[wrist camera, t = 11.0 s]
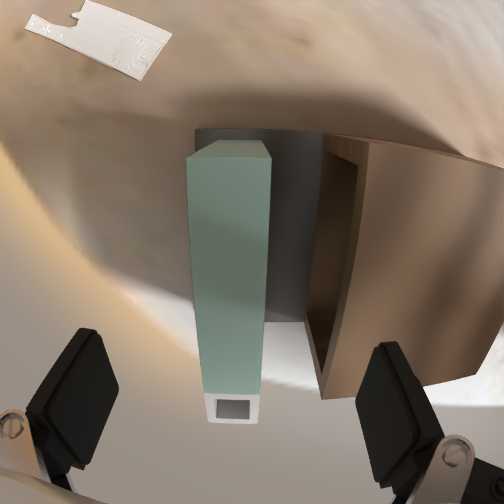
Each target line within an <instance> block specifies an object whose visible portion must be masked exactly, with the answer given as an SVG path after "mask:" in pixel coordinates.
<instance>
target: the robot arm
mask: <svg viewBox="0 0 504 504" xmlns="http://www.w3.org/2000/svg"><path fill="white" fill-rule="evenodd" d="M118 391H119V386H118V383H117V380H116V378H115V375H114V373H113V370H112V367H111V364H110V362H109V358H108V356H107V352H106V350H105V347H104V343H103V340H102V337H101V336H100V335H99V334H98V333H97V331H96V330H93V329H87V328H79V329H78V331H77V332H76V333H75V335H74V336H73V338H72V339H71V340H70V342H69V343H68V345H67V346H66V348H65V349H64V351H63V352H62V353H61V355H60V356H59V358H58V359H57V361H56V362H55V364H54V365H53V367H52V368H51V370H50V371H49V373H48V374H47V376H46V377H45V379H44V380H43V382H42V383H41V385H40V387H39V388H38V390H37V391H36V393H35V395H34V396H33V398H32V399H31V401H30V403H29V405H28V406H27V407H26V410H27V411H26V412H25V414H24V413H23V412H22V411H20V410H16V409H11V410H7V411H5V412H3V413H2V414H1V415H0V504H106V503H103V502H100V501H97V500H94V499H91V498H88V497H85V496H82V495H79V494H78V493H77V490H76V488H75V486H74V483H73V481H72V479H71V476H70V473H69V470H70V468H71V466H73V467H75V468H78V469H81V470H84V468H85V465H88V464H89V463H90V462H91V459H92V457H93V454H94V451H95V449H96V446H97V444H98V441H99V439H100V436H101V434H102V431H103V429H104V426H105V424H106V421H107V419H108V416H109V414H110V412H111V409H112V407H113V404H114V402H115V400H116V397H117V395H118ZM355 402H356V403H355V404H356V409H357V412H358V416H359V419H360V424H361V427H362V431H363V435H364V439H365V443H366V447H367V451H368V455H369V459H370V464H371V468H372V472H373V476H374V480H375V482H379V484H380V488H381V489H382V488H387V487H391V486H392V489H393V493H394V495H393V497H392V499H391V500H390V502H389V504H504V469H501V468H499V467H497V466H494V465H492V464H489V463H487V462H485V461H482V460H480V459H478V458H475V450H474V447H473V445H472V443H471V442H470V441H469V440H468V439H466V438H465V437H463V436H460V435H449V436H447V437H445V435H444V433H443V431H442V428H441V426H440V424H439V421H438V419H437V417H436V415H435V412H434V410H433V408H432V406H431V404H430V402H429V400H428V397H427V395H426V393H425V391H424V389H423V387H422V385H421V383H420V381H419V379H418V378H417V377H416V376H415V375H414V373H413V371H412V369H411V367H410V365H409V363H408V361H407V359H406V357H405V355H404V353H403V351H402V349H401V347H400V346H399V344H398V342H396V341H390V342H380V343H379V345H378V347H375V348H374V349H373V352H372V355H371V358H370V361H369V364H368V367H367V369H366V372H365V375H364V377H363V380H362V383H361V385H360V388H359V391H358V393H357V396H356V400H355Z"/></svg>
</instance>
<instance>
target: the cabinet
mask: <svg viewBox="0 0 504 504" xmlns="http://www.w3.org/2000/svg"><path fill="white" fill-rule="evenodd" d="M217 140H262V142H263V144H264V146H265V147H266V149H267V151H268V153H269V155H270V156H271V158H272V161H271V188H270V212H269V234H268V256H267V276H266V295H265V314H264V322H304V323H305V328H306V332H307V336H308V341H309V345H310V349H311V354H312V358H313V363H314V367H315V372H316V376H317V381H318V385H319V390H320V395H321V399H322V400H323V399H337V398H348V397H356V396H357V393H358V391H359V388H360V385H361V383H362V380H363V377H364V375H365V372H366V369H367V367H368V364H369V361H370V358H371V355H372V352H373V349H374V348H375V347H378V345H379V343H380V342H390V341H396V342H398V344H399V346H400V347H401V349H402V351H403V353H404V355H405V357H406V359H407V361H408V363H409V365H410V367H411V369H412V371H413V373H414V375H415V376H416V377H417V378H418V379H419V381H420V383H421V385H422V387H424V386H429V385H434V384H438V383H443V382H447V381H452V380H456V379H460V378H464V377H468V376H471V375H475V374H476V373H477V371H478V370H479V368H480V366H481V364H482V363H483V361H484V359H485V357H486V355H487V354H488V352H489V350H490V348H491V346H492V344H493V342H494V340H495V338H496V336H497V334H498V332H499V330H500V328H501V326H502V323H503V321H504V169H503V168H500V167H497V166H494V165H491V164H488V163H485V162H481V161H478V160H475V159H472V158H468V157H464V156H460V155H456V154H452V153H448V152H443V151H439V150H434V149H429V148H424V147H419V146H414V145H408V144H403V143H397V142H391V141H385V140H378V139H371V138H364V137H356V136H348V135H339V134H329V133H318V132H306V131H291V130H272V129H195V153H196V152H197V151H199V150H201V149H203V148H204V147H206V146H208V145H210V144H212V143H214V142H215V141H217Z"/></svg>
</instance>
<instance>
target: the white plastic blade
mask: <svg viewBox="0 0 504 504" xmlns="http://www.w3.org/2000/svg"><path fill="white" fill-rule="evenodd" d="M72 17H74V18H77V19H79V20H78V22H77V25H76V26H74V27H71V28H70V27H65V26H60V25H55V24H52V23H50V22H48V21H46V20H44V19H43V18H41V17H39V16H38V15H36V14H33V15H32V16H31V18H30V20H29V21H28V23H27V25H26V27H25V29H26V30H29V31H32V32H34V33H37V34H39V35H42V36H44V37H47V38H49V39H52V40H54V41H56V42H59V43H61V44H63V45H65V46H67V47H69V48H71V49H73V50H76V51H78V52H80V53H81V52H82V54H83V53H84V55H85V54H86V56H87V55H88V57H89V56H90V58H91V57H93V58H95V59H97V60H99V61H101V62H103V63H105V64H107V65H109V66H111V68H112V67H113V68H115V69H117V70H119V71H121V72H123V73H125V74H127V75H129V76H131V77H133V78H135V79H137V80H139V81H141V80H142V78H143V77H144V75H145V73H146V72H147V70H148V69H149V67H150V66H151V64H152V63H153V61H154V60H155V58H156V57H157V55H158V54H159V52H160V51H161V50H162V48H163V47H164V45H165V44H166V43H167V41H168V40H169V38H170V37H171V36H172V34H171V33H169V32H167V31H165V30H163V29H160V28H158V27H156V26H154V25H152V24H149V23H147V22H145V21H142V20H140V19H137V18H135V17H133V16H131V17H130V15H129V16H128V14H125V13H122V12H120V11H117V10H114V9H112V8H109V7H106V6H103V5H100V4H97V3H94V2H91V1H88V0H86V1H85V3H84V5H83V7H82V9H81V11H80V12H75V13H73V14H72ZM93 58H92V59H93ZM95 59H94V60H95ZM97 60H96V61H97ZM99 61H98V62H99ZM101 62H100V63H101ZM103 63H102V64H103ZM105 64H104V65H105ZM107 65H106V66H107ZM109 66H108V67H109Z"/></svg>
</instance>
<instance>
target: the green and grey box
mask: <svg viewBox="0 0 504 504" xmlns="http://www.w3.org/2000/svg"><path fill="white" fill-rule="evenodd" d="M271 161H272V158H271V156H270V155H269V153H268V151H267V149H266V147H265V146H264V144H263V142H262V140H217V141H215V142H214V143H212V144H210V145H208V146H206V147H204V148H203V149H201V150H199V151H197V152H196V153H194V154H192V155H190V156H189V157H187V158H186V169H187V201H188V223H189V242H190V258H191V272H192V285H193V297H194V308H195V319H196V329H197V338H198V347H199V356H200V365H201V372H202V381H203V388H204V395H205V403H206V409H207V416H208V422H215V423H238V424H257V423H258V411H259V396H260V381H261V365H262V348H263V331H264V314H265V295H266V276H267V256H268V234H269V212H270V188H271Z"/></svg>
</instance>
